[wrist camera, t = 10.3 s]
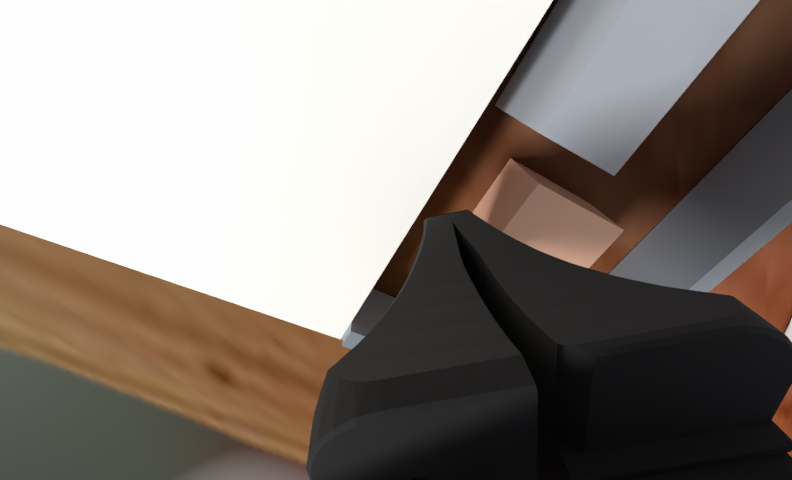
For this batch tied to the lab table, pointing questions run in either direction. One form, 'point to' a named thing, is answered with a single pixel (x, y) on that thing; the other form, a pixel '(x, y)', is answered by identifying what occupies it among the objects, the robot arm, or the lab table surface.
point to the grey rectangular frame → (696, 220)
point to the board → (244, 134)
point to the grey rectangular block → (615, 70)
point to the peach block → (546, 216)
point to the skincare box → (789, 331)
